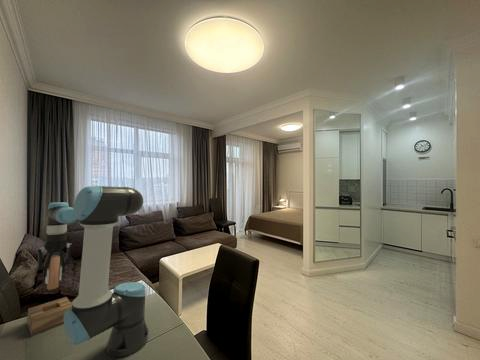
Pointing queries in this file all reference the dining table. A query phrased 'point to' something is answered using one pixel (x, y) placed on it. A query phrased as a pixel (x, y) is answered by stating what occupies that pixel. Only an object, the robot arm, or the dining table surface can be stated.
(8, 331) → the dining table surface
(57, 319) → the socket block
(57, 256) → the peg
